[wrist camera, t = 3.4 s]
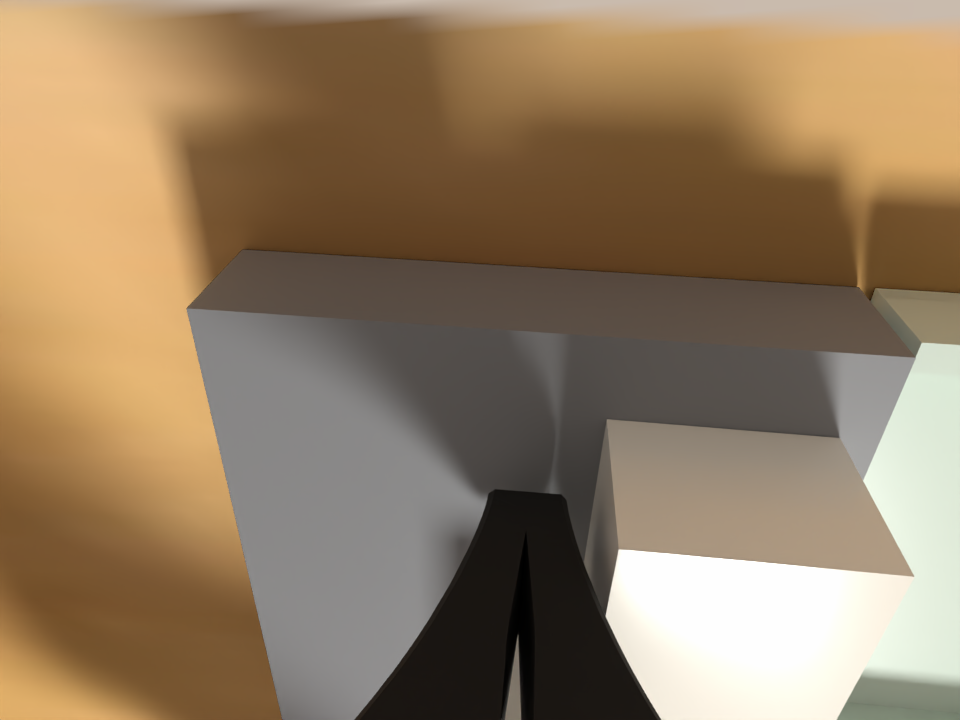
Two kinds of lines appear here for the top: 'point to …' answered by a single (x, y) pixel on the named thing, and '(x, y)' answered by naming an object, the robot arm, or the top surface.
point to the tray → (919, 518)
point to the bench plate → (478, 419)
